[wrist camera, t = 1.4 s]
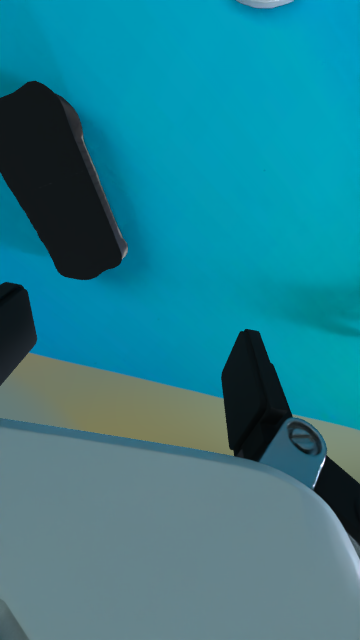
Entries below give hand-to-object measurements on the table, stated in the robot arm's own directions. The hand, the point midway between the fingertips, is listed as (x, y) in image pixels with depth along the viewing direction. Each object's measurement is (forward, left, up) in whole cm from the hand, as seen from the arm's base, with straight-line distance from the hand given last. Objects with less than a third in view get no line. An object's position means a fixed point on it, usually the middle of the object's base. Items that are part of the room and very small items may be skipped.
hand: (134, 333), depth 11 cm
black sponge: (-1, -11, -21) cm, 24 cm away
